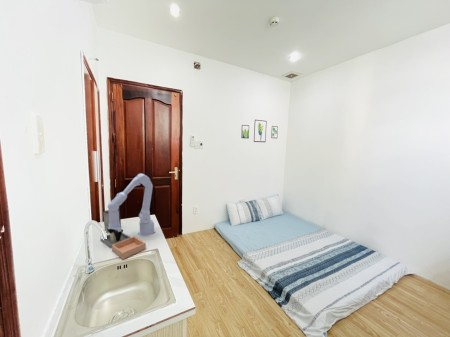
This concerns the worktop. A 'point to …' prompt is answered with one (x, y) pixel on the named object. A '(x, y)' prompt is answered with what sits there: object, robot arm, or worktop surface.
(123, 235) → the tray
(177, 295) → the worktop surface
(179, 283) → the worktop surface
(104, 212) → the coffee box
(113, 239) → the stone block
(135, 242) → the bin
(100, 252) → the worktop surface
